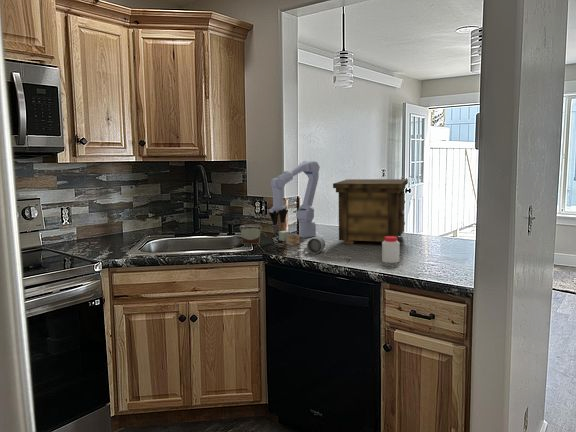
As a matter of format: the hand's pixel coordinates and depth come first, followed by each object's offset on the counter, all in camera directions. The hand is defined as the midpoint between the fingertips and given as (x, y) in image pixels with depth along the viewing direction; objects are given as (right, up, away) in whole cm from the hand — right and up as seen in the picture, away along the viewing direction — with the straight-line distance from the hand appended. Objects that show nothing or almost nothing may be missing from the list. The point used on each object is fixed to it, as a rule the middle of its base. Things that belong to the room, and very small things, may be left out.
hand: (278, 223), depth 270 cm
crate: (+51, -9, -3) cm, 52 cm away
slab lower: (+8, -11, -8) cm, 16 cm away
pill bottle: (+51, -16, -53) cm, 75 cm away
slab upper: (+8, -9, -8) cm, 14 cm away
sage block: (+3, -10, +3) cm, 10 cm away
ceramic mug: (+18, -14, -30) cm, 38 cm away
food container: (-15, -11, -3) cm, 19 cm away
